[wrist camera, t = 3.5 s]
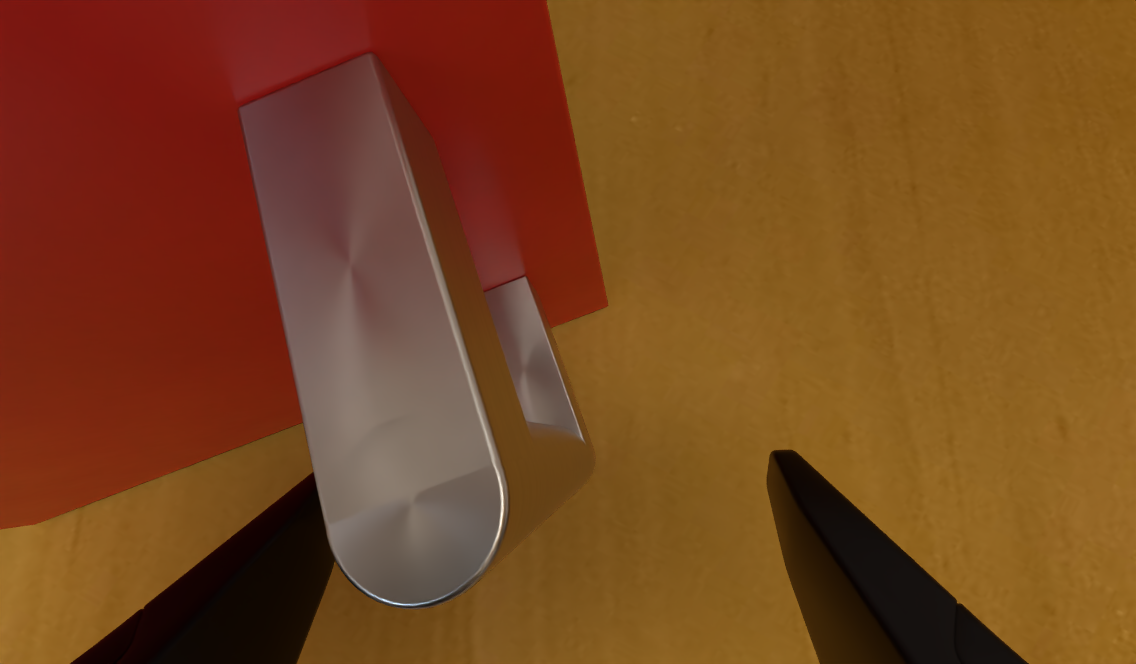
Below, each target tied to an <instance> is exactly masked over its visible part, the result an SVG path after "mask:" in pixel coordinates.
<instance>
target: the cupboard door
mask: <svg viewBox="0 0 1136 664" xmlns="http://www.w3.org/2000/svg"><path fill="white" fill-rule="evenodd" d="M607 306H608V301H607V296H606V291H605V287H604V282H603V277H602V272H601V267H600V262H599V257H598V252H597V247H596V242H595V237H594V232H593V227H592V222H591V218H590V213H589V208H588V203H587V198H586V193H585V188H584V183H583V178H582V173H581V168H580V163H579V158H578V153H577V149H576V144H575V139H574V134H573V129H572V124H571V119H570V114H569V109H568V104H567V99H566V94H565V89H564V85H563V80H562V75H561V70H560V65H559V60H558V55H557V50H556V45H555V40H554V35H553V30H552V25H551V20H550V16H549V11H548V6H547V1H546V0H0V529H6V528H13V527H20V526H27V525H34V524H37V523H40V522H42V521H45V520H48V519H50V518H53V517H56V516H58V515H61V514H64V513H66V512H69V511H71V510H74V509H77V508H79V507H82V506H85V505H87V504H90V503H92V502H95V501H98V500H100V499H103V498H106V497H108V496H111V495H113V494H116V493H119V492H121V491H124V490H127V489H129V488H132V487H134V486H137V485H140V484H142V483H145V482H148V481H150V480H153V479H155V478H158V477H161V476H163V475H166V474H169V473H171V472H174V471H176V470H179V469H182V468H184V467H187V466H190V465H192V464H195V463H197V462H200V461H203V460H205V459H208V458H211V457H213V456H216V455H218V454H221V453H224V452H226V451H229V450H232V449H234V448H237V447H239V446H242V445H245V444H247V443H250V442H253V441H255V440H258V439H261V438H263V437H266V436H268V435H271V434H274V433H276V432H279V431H282V430H284V429H287V428H289V427H292V426H295V425H297V424H300V423H303V424H304V428H305V433H306V438H307V443H308V447H309V452H310V457H311V462H312V466H313V471H314V476H315V480H316V485H317V490H318V495H319V499H320V504H321V509H322V513H323V518H324V523H325V527H326V534H327V538H328V542H329V546H330V549H331V551H332V554H333V556H334V559H335V561H336V562H337V564H338V566H339V568H340V569H341V571H342V572H343V574H344V575H345V576H346V577H347V579H348V580H349V581H350V582H351V583H352V584H353V585H354V586H355V587H356V588H357V589H358V590H359V591H361V592H362V593H364V594H365V595H366V596H368V597H370V598H372V599H373V600H375V601H377V602H379V603H382V604H385V605H388V606H391V607H396V608H401V609H426V608H432V607H435V606H439V605H442V604H445V603H447V602H449V601H452V600H454V599H456V598H457V597H459V596H461V595H462V594H464V593H465V592H467V591H468V590H469V589H470V588H472V587H473V586H474V585H475V584H476V583H477V582H479V581H480V580H481V579H482V578H483V577H484V576H485V575H486V574H487V573H488V572H489V571H491V570H492V569H493V568H494V567H495V566H496V565H497V564H498V563H499V562H500V561H501V560H503V559H504V558H505V557H506V556H507V555H508V554H509V553H510V552H511V551H512V550H513V549H515V548H516V547H517V546H518V545H519V544H520V543H521V542H522V541H523V540H524V539H525V538H527V537H528V536H529V535H530V534H531V533H532V532H533V531H534V530H535V529H536V528H538V527H539V526H540V525H541V524H542V523H543V522H544V521H545V520H546V519H547V518H548V517H550V516H551V515H552V514H553V513H554V512H555V511H556V510H557V509H558V508H559V507H560V506H562V505H563V504H564V503H565V502H566V501H567V500H568V499H569V498H570V497H571V496H572V495H574V494H575V493H576V492H577V491H578V490H579V489H580V488H581V487H582V486H583V485H584V484H586V482H587V481H588V480H589V479H590V477H591V475H592V474H593V471H594V467H595V452H594V449H593V446H592V443H591V440H590V437H589V434H588V431H587V429H586V426H585V423H584V420H583V417H582V415H581V412H580V409H579V406H578V403H577V401H576V398H575V395H574V392H573V389H572V387H571V384H570V381H569V378H568V375H567V373H566V370H565V367H564V364H563V361H562V359H561V356H560V353H559V350H558V347H557V344H556V342H555V339H554V336H553V333H552V330H551V328H552V327H555V326H557V325H560V324H563V323H565V322H568V321H570V320H573V319H576V318H578V317H581V316H584V315H586V314H589V313H591V312H594V311H597V310H599V309H602V308H605V307H607Z"/></svg>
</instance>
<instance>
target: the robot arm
mask: <svg viewBox="0 0 1136 664" xmlns="http://www.w3.org/2000/svg"><path fill="white" fill-rule="evenodd" d="M767 490H768V494H769V499H770V503H771V507H772V511H773V516H774V520H775V524H776V528H777V533H778V537H779V541H780V546H781V550H782V554H783V558H784V562H785V566H786V569H787V572H788V575H789V578H790V581H791V584H792V587H793V590H794V592H795V595H796V598H797V601H798V604H799V606H800V609H801V612H802V615H803V618H804V620H805V623H806V626H807V629H808V632H809V634H810V637H811V640H812V643H813V646H814V648H815V651H816V654H817V657H818V660H819V662H820V664H1029V663H1027V662H1026V661H1025V660H1024V659H1022V658H1021V657H1020V656H1019V655H1018V654H1017V653H1016V652H1014V651H1013V650H1012V649H1011V648H1010V647H1009V646H1008V645H1006V644H1005V643H1004V642H1003V641H1002V640H1001V639H1000V638H999V637H997V636H996V635H995V634H994V633H993V632H992V631H991V630H990V629H988V628H987V627H986V626H985V625H984V624H983V623H982V622H981V621H980V620H978V619H977V618H976V617H975V616H974V615H973V614H972V613H971V612H970V611H969V610H968V609H967V608H965V607H964V606H963V605H962V604H957V600H956V599H955V598H954V597H953V596H952V595H951V594H950V593H949V592H948V591H947V590H946V589H945V588H943V587H942V586H941V585H940V584H939V583H938V582H937V581H936V580H935V579H934V578H933V577H931V576H930V575H929V574H928V573H927V572H926V571H925V570H924V569H923V568H922V567H921V566H920V565H918V564H917V563H916V562H915V561H914V560H913V559H912V558H911V557H910V556H909V555H908V554H906V553H905V552H904V551H903V550H902V549H901V548H900V547H899V546H898V545H897V544H896V543H895V542H893V541H892V540H891V539H890V538H889V537H888V536H887V535H886V534H885V533H884V532H883V531H881V530H880V529H879V528H878V527H877V526H876V525H875V524H874V523H873V522H872V521H871V520H870V519H868V518H867V517H866V516H865V515H864V514H863V513H862V512H861V511H860V510H859V509H858V508H857V507H855V506H854V505H853V504H852V503H851V502H850V501H849V500H848V499H847V498H846V497H845V496H843V495H842V494H841V493H840V492H839V491H838V490H837V489H836V488H835V487H834V486H833V485H832V484H830V483H829V482H828V481H827V480H826V479H825V478H824V477H823V476H822V475H821V474H820V473H818V472H817V471H816V470H815V469H814V468H813V467H812V466H811V465H810V464H809V463H808V462H807V461H805V460H804V459H803V458H802V457H801V456H800V455H799V454H798V453H797V452H795V451H793V450H774V451H772V452H771V454H770V457H769V465H768V472H767ZM334 562H335V559H334V556H333V554H332V551H331V549H330V546H329V542H328V538H327V534H326V527H325V523H324V518H323V513H322V509H321V504H320V499H319V495H318V490H317V485H316V480H315V476H314V472H313V473H311V474H310V475H309V476H308V477H306V478H305V479H304V480H303V481H301V482H300V483H299V484H297V485H296V486H295V487H294V488H292V489H291V490H290V491H289V492H287V493H286V494H285V495H284V496H282V497H281V498H280V499H279V500H277V501H276V502H275V503H274V504H272V505H271V506H270V507H269V508H267V509H266V510H265V511H264V512H262V513H261V514H260V515H258V516H257V517H256V518H255V519H253V520H252V521H251V522H250V523H248V524H247V525H246V526H245V527H243V528H242V529H241V530H240V531H238V532H237V533H236V534H235V535H233V536H232V537H231V538H230V539H228V540H227V541H226V542H225V543H223V544H222V545H221V546H219V547H218V548H217V549H216V550H214V551H213V552H212V553H211V554H209V555H208V556H207V557H206V558H204V559H203V560H202V561H201V562H199V563H198V564H197V565H196V566H194V567H193V568H192V569H190V570H189V571H188V572H187V573H185V574H184V575H183V576H182V577H180V578H179V579H178V580H177V581H175V582H174V583H173V584H172V585H170V586H169V587H168V588H167V589H165V590H164V591H163V592H162V593H160V594H159V595H158V596H156V597H155V598H154V599H153V600H151V601H150V602H149V603H148V604H146V605H145V607H144V609H140V610H139V611H137V612H136V613H135V614H134V615H132V616H131V617H130V618H129V619H127V620H126V621H125V622H124V623H122V624H121V625H120V626H119V627H117V628H116V629H115V630H113V631H112V632H111V633H110V634H108V635H107V636H106V637H104V638H103V639H102V640H101V641H99V642H98V643H97V644H95V645H94V646H93V647H91V648H90V649H89V650H88V651H86V652H85V653H84V654H82V655H81V656H80V657H78V658H77V659H75V660H74V661H73V662H71V663H70V664H297V661H298V658H299V656H300V653H301V651H302V648H303V645H304V643H305V640H306V638H307V635H308V632H309V630H310V627H311V625H312V622H313V620H314V617H315V614H316V612H317V609H318V607H319V604H320V601H321V599H322V596H323V594H324V591H325V588H326V586H327V583H328V580H329V577H330V575H331V572H332V568H333V565H334Z"/></svg>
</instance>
